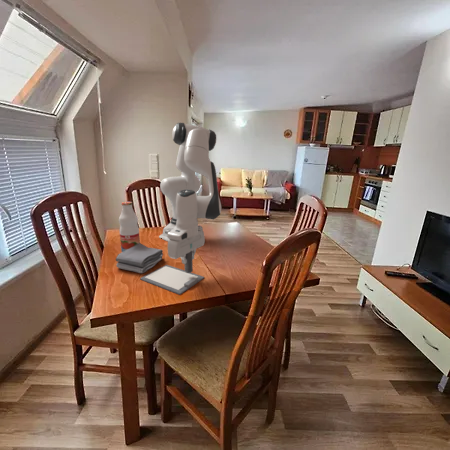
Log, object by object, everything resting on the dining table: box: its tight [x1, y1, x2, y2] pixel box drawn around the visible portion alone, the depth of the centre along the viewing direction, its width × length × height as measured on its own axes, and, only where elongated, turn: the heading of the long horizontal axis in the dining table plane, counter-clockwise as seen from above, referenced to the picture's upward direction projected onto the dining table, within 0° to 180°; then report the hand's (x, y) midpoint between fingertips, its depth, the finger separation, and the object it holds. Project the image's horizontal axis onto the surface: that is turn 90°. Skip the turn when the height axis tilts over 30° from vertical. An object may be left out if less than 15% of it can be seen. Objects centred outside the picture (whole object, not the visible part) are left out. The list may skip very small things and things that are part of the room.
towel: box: [115, 242, 164, 274], centre depth 119 cm, size 15×18×8 cm
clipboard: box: [139, 264, 205, 295], centre depth 107 cm, size 22×16×2 cm
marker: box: [183, 244, 194, 273], centre depth 105 cm, size 4×4×13 cm
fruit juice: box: [118, 201, 141, 253], centre depth 127 cm, size 9×9×28 cm
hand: (188, 261), depth 105 cm, fingers closed on marker, 3 cm apart
